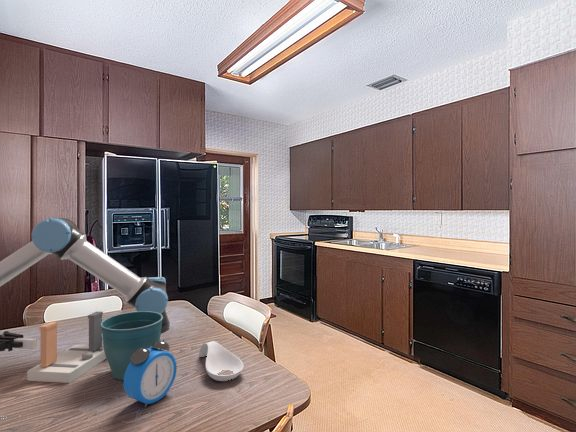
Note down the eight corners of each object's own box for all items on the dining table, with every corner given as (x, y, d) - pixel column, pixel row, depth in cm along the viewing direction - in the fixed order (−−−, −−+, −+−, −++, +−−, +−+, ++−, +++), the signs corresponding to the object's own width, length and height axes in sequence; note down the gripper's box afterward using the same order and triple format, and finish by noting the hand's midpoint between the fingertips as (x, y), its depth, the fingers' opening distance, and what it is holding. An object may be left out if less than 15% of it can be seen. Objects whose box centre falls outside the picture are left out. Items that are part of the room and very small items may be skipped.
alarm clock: (137, 415, 82) (137, 356, 82) (121, 408, 85) (122, 351, 85) (177, 390, 93) (177, 338, 93) (162, 385, 96) (162, 334, 96)
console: (111, 354, 117) (112, 342, 117) (70, 382, 97) (70, 367, 97) (75, 352, 118) (75, 340, 118) (27, 380, 98) (27, 365, 98)
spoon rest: (250, 379, 100) (250, 356, 100) (214, 391, 93) (214, 366, 93) (219, 352, 119) (219, 333, 119) (187, 361, 113) (187, 340, 112)
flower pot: (172, 371, 104) (172, 319, 104) (111, 393, 91) (111, 333, 91) (149, 354, 117) (149, 308, 117) (93, 371, 104) (93, 319, 104)
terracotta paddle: (57, 360, 104) (57, 322, 104) (46, 367, 100) (46, 326, 100) (50, 360, 104) (51, 321, 104) (39, 366, 100) (39, 326, 100)
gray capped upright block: (102, 346, 115) (102, 311, 115) (94, 351, 111) (94, 315, 111) (96, 346, 116) (96, 311, 116) (87, 351, 111) (87, 315, 111)
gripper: (-13, 344, 111) (51, 347, 109) (-56, 361, 98) (15, 365, 96) (-13, 322, 111) (51, 324, 109) (-56, 336, 98) (15, 339, 96)
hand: (34, 343), depth 102 cm, fingers closed
